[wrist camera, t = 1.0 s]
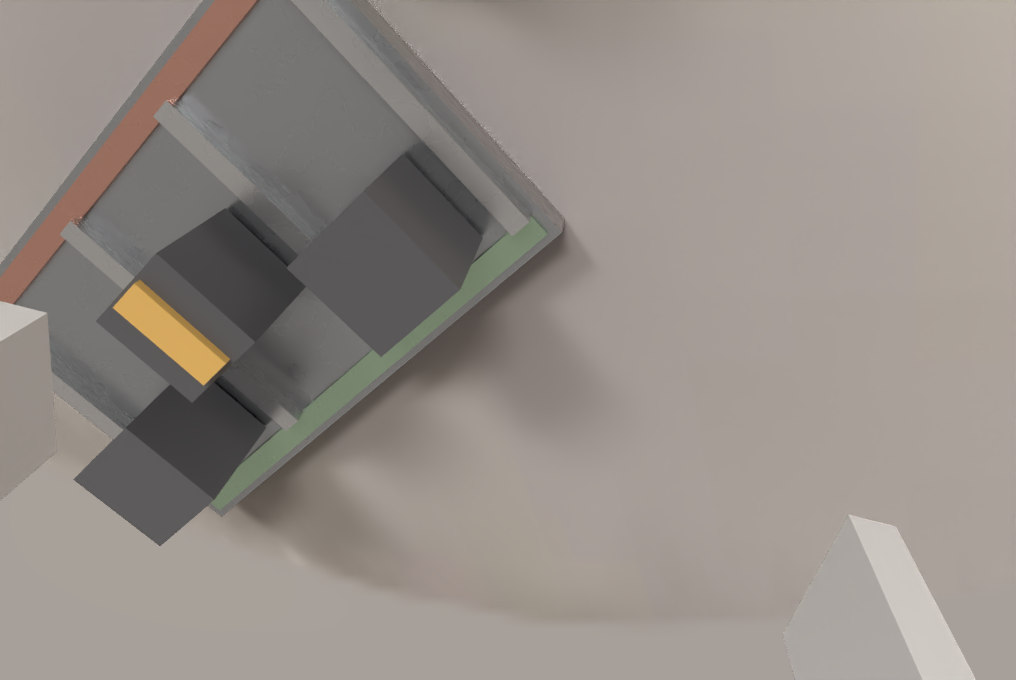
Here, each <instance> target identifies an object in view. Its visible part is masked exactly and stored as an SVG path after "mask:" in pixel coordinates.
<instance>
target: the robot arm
mask: <svg viewBox="0 0 1016 680" xmlns="http://www.w3.org/2000/svg"><path fill="white" fill-rule="evenodd" d="M56 452H57V441H56V427H55V413H54V399H53V385H52V371H51V357H50V343H49V329H48V315H47V313H46V312H42V311H38V310H34V309H30V308H26V307H22V306H18V305H14V304H10V303H6V302H2V301H1V302H0V500H2V499H3V498H4V497H5V496H6V495H8V494H9V493H10V492H11V491H12V490H13V489H14V488H16V487H17V486H18V485H19V484H20V483H21V482H22V481H24V480H25V479H26V478H27V477H28V476H29V475H30V474H32V473H33V472H34V471H35V470H36V469H37V468H39V467H40V466H41V465H42V464H43V463H44V462H45V461H47V460H48V459H49V458H50V457H51V456H52V455H53V454H55V453H56ZM783 638H784V642H785V645H786V649H787V653H788V656H789V660H790V664H791V668H792V672H793V675H794V679H795V680H976V679H975V677H974V675H973V673H972V671H971V669H970V667H969V666H968V664H967V662H966V660H965V658H964V656H963V654H962V652H961V650H960V648H959V646H958V644H957V642H956V641H955V639H954V637H953V635H952V633H951V631H950V629H949V627H948V625H947V623H946V621H945V620H944V618H943V616H942V614H941V612H940V610H939V608H938V606H937V604H936V602H935V600H934V598H933V597H932V595H931V593H930V591H929V589H928V587H927V585H926V583H925V581H924V579H923V577H922V576H921V574H920V572H919V570H918V568H917V566H916V564H915V562H914V560H913V558H912V556H911V554H910V553H909V551H908V549H907V547H906V545H905V543H904V541H903V539H902V537H901V535H900V533H899V532H898V530H897V528H896V526H893V525H889V524H885V523H881V522H877V521H873V520H869V519H865V518H861V517H857V516H853V515H848V516H847V518H846V520H845V522H844V524H843V526H842V527H841V529H840V531H839V533H838V535H837V536H836V538H835V540H834V542H833V544H832V546H831V547H830V549H829V551H828V553H827V555H826V557H825V558H824V560H823V562H822V564H821V566H820V567H819V569H818V571H817V573H816V575H815V577H814V578H813V580H812V582H811V584H810V586H809V588H808V589H807V591H806V593H805V595H804V597H803V598H802V600H801V602H800V604H799V606H798V608H797V609H796V611H795V613H794V615H793V617H792V619H791V620H790V622H789V624H788V626H787V628H786V629H785V631H784V633H783Z"/></svg>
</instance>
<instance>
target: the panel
mask: <svg viewBox="0 0 1016 680" xmlns="http://www.w3.org/2000/svg"><path fill="white" fill-rule="evenodd" d="M402 154H404V155H405V156H406V157H407V158H408V159H409V160H410V161H411V162H412V164H413V165H414V166H415V167H416V168H417V169H418V170H419V171H420V172H421V173H422V174H423V175H424V176H425V177H426V178H427V179H428V180H429V181H430V182H431V183H432V185H433V186H434V187H435V188H436V189H437V190H438V191H439V192H440V193H441V194H442V195H443V196H444V197H445V198H446V199H447V200H448V201H449V202H450V203H451V204H452V206H453V207H454V208H455V209H456V210H457V211H458V212H459V213H460V214H461V215H462V216H463V217H464V218H465V219H466V220H467V221H468V222H469V223H470V224H471V225H472V227H473V228H474V229H475V230H476V231H477V232H478V233H479V234H480V235H481V236H482V237H483V239H482V241H481V243H480V246H479V248H478V250H477V253H476V255H475V257H474V259H473V262H472V264H471V266H470V269H469V271H468V273H467V276H466V278H465V280H464V282H463V285H462V287H461V289H460V290H459V291H458V292H457V293H456V294H455V295H453V296H452V297H451V298H450V299H449V300H448V301H446V302H445V303H444V304H443V305H442V306H441V307H439V308H438V309H437V310H436V311H435V312H434V313H432V314H431V315H430V316H429V317H428V318H427V319H425V320H424V321H423V322H422V323H421V324H420V325H418V326H417V327H416V328H415V329H414V330H412V331H411V332H410V333H409V334H408V335H407V336H405V337H404V338H403V339H402V340H401V341H400V342H398V343H397V344H396V345H395V346H394V347H393V348H391V349H390V350H389V351H388V352H387V353H386V354H384V355H383V356H382V357H380V356H379V355H378V354H377V353H376V352H375V351H374V350H373V349H372V348H371V347H370V346H369V345H367V344H366V343H365V342H364V341H363V340H362V339H361V338H360V337H359V336H358V335H357V334H356V333H355V332H354V331H353V330H352V329H351V328H349V327H348V326H347V325H346V324H345V323H344V322H343V321H342V320H341V319H340V318H339V317H338V316H337V315H336V314H335V313H334V312H332V311H331V310H330V309H329V308H328V307H327V306H326V305H325V304H324V303H323V302H322V301H321V300H320V299H319V298H318V297H317V296H315V295H314V294H313V293H312V292H311V291H310V290H309V289H308V288H307V287H305V288H304V290H303V291H302V292H301V293H300V294H299V295H298V296H297V297H296V298H295V299H294V301H293V302H292V303H291V304H290V305H289V306H288V307H287V308H286V309H285V310H284V311H283V313H282V314H281V315H280V316H279V317H278V318H277V319H276V320H275V321H274V322H273V323H272V325H271V326H270V327H269V328H268V329H267V330H266V331H265V332H264V333H263V334H262V335H261V337H260V338H259V339H258V340H257V341H256V342H255V343H254V344H253V345H252V346H251V347H250V348H249V349H248V350H247V351H246V352H245V353H244V354H243V355H241V356H240V357H239V358H238V359H237V360H236V361H235V362H234V363H233V364H232V365H231V366H230V367H229V368H228V369H227V370H226V371H225V372H224V373H223V374H222V375H221V376H220V377H219V378H217V379H216V380H215V381H214V383H215V384H217V385H218V386H219V387H220V388H221V389H222V390H223V391H225V392H226V393H227V394H228V395H229V396H230V397H232V398H233V399H234V400H235V401H236V402H237V403H239V404H240V405H241V406H242V407H243V408H244V409H246V410H247V411H248V412H249V413H250V414H251V415H253V416H254V417H255V418H256V419H257V420H258V421H259V422H261V423H262V424H263V425H264V426H265V427H266V429H265V430H264V432H263V433H262V435H261V436H260V437H259V439H258V440H257V441H256V443H255V444H254V446H253V447H252V448H251V450H250V451H249V453H248V454H247V455H246V457H245V458H244V459H243V461H242V462H241V464H240V465H239V466H238V468H237V469H236V471H235V472H234V473H233V475H232V476H231V477H230V479H229V480H228V482H227V483H226V484H225V486H224V487H223V489H222V490H221V491H220V493H219V494H218V495H217V497H216V498H215V500H214V501H212V502H211V503H210V504H209V505H208V506H209V507H210V508H211V509H213V510H214V511H215V512H216V513H218V514H219V515H220V516H221V517H222V516H223V515H224V514H225V513H227V512H228V511H229V510H230V509H231V508H233V507H234V506H235V505H236V504H237V503H239V502H240V501H241V500H242V499H243V498H245V497H246V496H247V495H248V494H249V493H251V492H252V491H253V490H254V489H255V488H257V487H258V486H259V485H260V484H261V483H263V482H264V481H265V480H266V479H267V478H269V477H270V476H271V475H272V474H273V473H275V472H276V471H277V470H278V469H279V468H281V467H282V466H283V465H284V464H285V463H287V462H288V461H289V460H290V459H291V458H293V457H294V456H295V455H296V454H297V453H299V452H300V451H301V450H302V449H303V448H305V447H306V446H307V445H308V444H309V443H311V442H312V441H313V440H314V439H315V438H317V437H318V436H319V435H320V434H321V433H323V432H324V431H325V430H326V429H327V428H329V427H330V426H331V425H332V424H333V423H335V422H336V421H337V420H338V419H339V418H341V417H342V416H343V415H344V414H345V413H346V412H348V411H349V410H350V409H351V408H352V407H354V406H355V405H356V404H357V403H358V402H360V401H361V400H362V399H363V398H364V397H366V396H367V395H368V394H369V393H370V392H372V391H373V390H374V389H375V388H376V387H378V386H379V385H380V384H381V383H382V382H384V381H385V380H386V379H387V378H388V377H390V376H391V375H392V374H393V373H394V372H396V371H397V370H398V369H399V368H400V367H402V366H403V365H404V364H405V363H406V362H408V361H409V360H410V359H411V358H412V357H414V356H415V355H416V354H417V353H418V352H420V351H421V350H422V349H423V348H424V347H426V346H427V345H428V344H429V343H430V342H432V341H433V340H434V339H435V338H436V337H438V336H439V335H440V334H441V333H442V332H444V331H445V330H446V329H447V328H448V327H450V326H451V325H452V324H453V323H454V322H456V321H457V320H458V319H459V318H460V317H462V316H463V315H464V314H465V313H466V312H468V311H469V310H470V309H471V308H472V307H474V306H475V305H476V304H477V303H478V302H480V301H481V300H482V299H483V298H484V297H486V296H487V295H488V294H489V293H490V292H492V291H493V290H494V289H495V288H496V287H498V286H499V285H500V284H501V283H502V282H503V281H505V280H506V279H507V278H508V277H509V276H511V275H512V274H513V273H514V272H515V271H517V270H518V269H519V268H520V267H521V266H523V265H524V264H525V263H526V262H527V261H529V260H530V259H531V258H532V257H533V256H535V255H536V254H537V253H538V252H539V251H541V250H542V249H543V248H544V247H545V246H547V245H548V244H549V243H550V242H551V241H553V240H554V239H555V238H556V237H557V236H559V235H560V234H561V233H562V231H563V225H564V218H563V217H562V216H561V214H560V213H559V212H558V211H557V210H556V209H555V208H554V207H553V206H552V205H551V203H550V202H549V201H548V200H547V199H546V198H545V197H544V196H543V195H542V194H541V192H540V191H539V190H538V189H537V188H536V187H535V186H534V185H533V184H532V182H531V181H530V180H529V179H528V178H527V177H526V176H525V175H524V174H523V173H522V171H521V170H520V169H519V168H518V167H517V166H516V165H515V164H514V163H513V161H512V160H511V159H510V158H509V157H508V156H507V155H506V154H505V153H504V152H503V150H502V149H501V148H500V147H499V146H498V145H497V144H496V143H495V142H494V140H493V139H492V138H491V137H490V136H489V135H488V134H487V133H486V132H485V131H484V129H483V128H482V127H481V126H480V125H479V124H478V123H477V122H476V121H475V119H474V118H473V117H472V116H471V115H470V114H469V113H468V112H467V111H466V110H465V108H464V107H463V106H462V105H461V104H460V103H459V102H458V101H457V100H456V99H455V97H454V96H453V95H452V94H451V93H450V92H449V91H448V90H447V89H446V87H445V86H444V85H443V84H442V83H441V82H440V81H439V80H438V79H437V78H436V76H435V75H434V74H433V73H432V72H431V71H430V70H429V69H428V68H427V66H426V65H425V64H424V63H423V62H422V61H421V60H420V59H419V58H418V57H417V55H416V54H415V53H414V52H413V51H412V50H411V49H410V48H409V47H408V45H407V44H406V43H405V42H404V41H403V40H402V39H401V38H400V37H399V36H398V34H397V33H396V32H395V31H394V30H393V29H392V28H391V27H390V26H389V24H388V23H387V22H386V21H385V20H384V19H383V18H382V17H381V16H380V15H379V13H378V12H377V11H376V10H375V9H374V8H373V7H372V6H371V5H370V3H369V2H368V1H367V0H203V1H202V3H201V4H200V5H199V7H198V8H197V9H196V11H195V12H194V13H193V14H192V16H191V17H190V18H189V20H188V21H187V22H186V24H185V25H184V26H183V27H182V29H181V30H180V31H179V33H178V34H177V35H176V37H175V38H174V39H173V41H172V42H171V43H170V44H169V46H168V47H167V48H166V50H165V51H164V52H163V54H162V55H161V56H160V57H159V59H158V60H157V61H156V63H155V64H154V65H153V67H152V68H151V69H150V70H149V72H148V73H147V74H146V76H145V77H144V78H143V80H142V81H141V82H140V84H139V85H138V86H137V87H136V89H135V90H134V91H133V93H132V94H131V95H130V97H129V98H128V99H127V100H126V102H125V103H124V104H123V106H122V107H121V108H120V110H119V111H118V112H117V114H116V115H115V116H114V117H113V119H112V120H111V121H110V123H109V124H108V125H107V127H106V128H105V129H104V130H103V132H102V133H101V134H100V136H99V137H98V138H97V140H96V141H95V142H94V143H93V145H92V146H91V147H90V149H89V150H88V151H87V153H86V154H85V155H84V157H83V158H82V159H81V160H80V162H79V163H78V164H77V166H76V167H75V168H74V170H73V171H72V172H71V173H70V175H69V176H68V177H67V179H66V180H65V181H64V183H63V184H62V185H61V187H60V188H59V189H58V190H57V192H56V193H55V194H54V196H53V197H52V198H51V200H50V201H49V202H48V203H47V205H46V206H45V207H44V209H43V210H42V211H41V213H40V214H39V215H38V217H37V218H36V219H35V220H34V222H33V223H32V224H31V226H30V227H29V228H28V230H27V231H26V232H25V233H24V235H23V236H22V237H21V239H20V240H19V241H18V243H17V244H16V245H15V246H14V248H13V249H12V250H11V252H10V253H9V254H8V256H7V257H6V258H5V260H4V261H3V262H2V263H1V265H0V302H1V301H2V302H6V303H10V304H14V305H18V306H22V307H26V308H30V309H34V310H38V311H42V312H46V313H47V315H48V329H49V343H50V357H51V371H52V385H53V392H54V393H56V394H57V395H58V396H59V397H61V398H62V399H63V400H64V401H66V402H67V403H68V404H69V405H71V406H72V407H73V408H74V409H76V410H77V411H78V412H79V413H81V414H82V415H83V416H84V417H86V418H87V419H88V420H89V421H91V422H92V423H93V424H94V425H96V426H97V427H98V428H99V429H101V430H102V431H103V432H104V433H106V434H107V435H108V436H109V437H111V438H112V439H113V440H114V439H115V438H116V437H117V436H118V435H119V434H120V433H121V432H122V431H123V430H124V429H125V428H126V427H127V426H128V425H129V424H130V423H131V422H132V421H133V420H134V419H135V418H136V417H137V416H138V415H139V414H140V413H141V412H142V411H143V410H144V409H145V408H146V407H147V406H148V405H149V404H150V403H151V402H152V401H153V400H154V399H156V398H157V397H158V396H159V395H160V394H161V393H162V392H163V391H164V390H165V389H166V388H167V387H168V386H169V385H170V384H169V383H168V382H167V381H166V380H164V379H163V378H162V377H161V376H160V375H159V374H157V373H156V372H155V371H154V370H153V369H151V368H150V367H149V366H148V365H147V364H146V363H144V362H143V361H142V360H141V359H140V358H138V357H137V356H136V355H135V354H134V353H133V352H131V351H130V350H129V349H128V348H127V347H125V346H124V345H123V344H122V343H121V342H119V341H118V340H117V339H116V338H115V337H114V336H112V335H111V334H110V333H109V332H108V331H106V330H105V329H104V328H103V327H102V326H101V325H99V324H98V323H97V322H96V320H97V319H98V318H99V317H100V316H101V315H102V313H103V312H104V311H105V310H106V309H107V308H108V307H109V306H110V304H111V303H112V302H113V301H114V300H115V299H116V298H117V297H118V295H119V294H120V293H121V292H122V291H123V290H124V289H125V288H126V286H127V285H128V284H129V283H130V282H131V281H132V280H133V279H134V277H135V276H136V275H137V274H138V273H139V272H140V271H141V269H142V268H143V267H144V266H145V265H146V264H147V263H148V262H149V260H150V259H151V258H152V257H153V256H154V255H155V254H156V253H157V252H159V251H160V250H162V249H163V248H165V247H166V246H168V245H169V244H171V243H172V242H174V241H175V240H177V239H179V238H180V237H182V236H183V235H185V234H186V233H188V232H189V231H191V230H192V229H194V228H195V227H197V226H198V225H200V224H202V223H203V222H205V221H206V220H208V219H209V218H211V217H212V216H214V215H215V214H217V213H218V212H220V211H222V210H223V209H225V208H226V209H227V210H228V211H229V212H230V213H231V214H232V215H233V216H234V217H235V218H236V219H238V220H239V221H240V222H241V223H242V224H243V225H244V226H245V227H246V228H247V229H248V230H249V231H250V232H251V233H252V234H253V235H255V236H256V237H257V238H258V239H259V240H260V241H261V242H262V243H263V244H264V245H265V246H266V247H267V248H268V249H269V250H270V251H271V252H273V253H274V254H275V255H276V256H277V257H278V258H279V259H280V260H281V261H282V262H283V263H284V264H285V265H286V266H287V267H288V266H289V265H290V264H291V263H292V262H293V261H294V260H295V259H296V258H297V257H298V256H299V255H300V254H301V253H302V252H303V251H304V250H305V249H306V248H307V247H308V246H309V245H310V244H311V243H312V242H313V241H314V240H315V239H316V238H317V237H318V236H319V235H320V234H321V233H322V232H323V231H324V230H325V229H326V228H327V227H328V226H329V225H330V224H331V223H332V222H333V221H334V220H335V219H336V218H337V217H338V216H339V215H340V214H341V213H342V212H343V211H344V210H345V209H346V208H347V207H348V206H349V205H350V204H351V203H352V202H353V201H354V200H355V199H356V198H357V197H358V196H359V195H360V194H361V193H362V192H363V191H364V190H365V189H366V188H367V187H368V186H369V185H370V184H371V183H372V182H373V181H375V180H376V179H377V178H378V177H379V176H380V175H381V174H382V173H383V172H384V171H385V170H386V169H387V168H388V167H389V166H390V165H391V164H392V163H393V162H394V161H395V160H397V159H398V158H399V157H400V156H401V155H402Z"/></svg>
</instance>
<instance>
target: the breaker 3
mask: <svg viewBox="0 0 1016 680" xmlns="http://www.w3.org/2000/svg"><path fill="white" fill-rule="evenodd" d="M482 239H483V237H482V236H481V235H480V234H479V233H478V232H477V231H476V230H475V229H474V228H473V227H472V225H471V224H470V223H469V222H468V221H467V220H466V219H465V218H464V217H463V216H462V215H461V214H460V213H459V212H458V211H457V210H456V209H455V208H454V207H453V206H452V204H451V203H450V202H449V201H448V200H447V199H446V198H445V197H444V196H443V195H442V194H441V193H440V192H439V191H438V190H437V189H436V188H435V187H434V186H433V185H432V183H431V182H430V181H429V180H428V179H427V178H426V177H425V176H424V175H423V174H422V173H421V172H420V171H419V170H418V169H417V168H416V167H415V166H414V165H413V164H412V162H411V161H410V160H409V159H408V158H407V157H406V156H405V155H404V154H402V155H401V156H400V157H399V158H398V159H397V160H395V161H394V162H393V163H392V164H391V165H390V166H389V167H388V168H387V169H386V170H385V171H384V172H383V173H382V174H381V175H380V176H379V177H378V178H377V179H376V180H375V181H373V182H372V183H371V184H370V185H369V186H368V187H367V188H366V189H365V190H364V191H363V192H362V193H361V194H360V195H359V196H358V197H357V198H356V199H355V200H354V201H353V202H352V203H351V204H350V205H349V206H348V207H347V208H346V209H345V210H344V211H343V212H342V213H341V214H340V215H339V216H338V217H337V218H336V219H335V220H334V221H333V222H332V223H331V224H330V225H329V226H328V227H327V228H326V229H325V230H324V231H323V232H322V233H321V234H320V235H319V236H318V237H317V238H316V239H315V240H314V241H313V242H312V243H311V244H310V245H309V246H308V247H307V248H306V249H305V250H304V251H303V252H302V253H301V254H300V255H299V256H298V257H297V258H296V259H295V260H294V261H293V262H292V263H291V264H290V265H289V266H288V267H287V269H288V270H289V271H290V272H291V273H292V274H293V275H294V276H295V277H296V278H297V279H298V280H300V281H301V282H302V283H303V284H304V285H305V286H306V287H307V288H308V289H309V290H310V291H311V292H312V293H313V294H314V295H315V296H317V297H318V298H319V299H320V300H321V301H322V302H323V303H324V304H325V305H326V306H327V307H328V308H329V309H330V310H331V311H332V312H334V313H335V314H336V315H337V316H338V317H339V318H340V319H341V320H342V321H343V322H344V323H345V324H346V325H347V326H348V327H349V328H351V329H352V330H353V331H354V332H355V333H356V334H357V335H358V336H359V337H360V338H361V339H362V340H363V341H364V342H365V343H366V344H367V345H369V346H370V347H371V348H372V349H373V350H374V351H375V352H376V353H377V354H378V355H379V356H380V357H382V356H383V355H384V354H386V353H387V352H388V351H389V350H390V349H391V348H393V347H394V346H395V345H396V344H397V343H398V342H400V341H401V340H402V339H403V338H404V337H405V336H407V335H408V334H409V333H410V332H411V331H412V330H414V329H415V328H416V327H417V326H418V325H420V324H421V323H422V322H423V321H424V320H425V319H427V318H428V317H429V316H430V315H431V314H432V313H434V312H435V311H436V310H437V309H438V308H439V307H441V306H442V305H443V304H444V303H445V302H446V301H448V300H449V299H450V298H451V297H452V296H453V295H455V294H456V293H457V292H458V291H459V290H460V289H461V287H462V285H463V282H464V280H465V278H466V276H467V273H468V271H469V269H470V266H471V264H472V262H473V259H474V257H475V255H476V253H477V250H478V248H479V246H480V243H481V241H482Z"/></svg>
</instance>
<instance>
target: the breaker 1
mask: <svg viewBox="0 0 1016 680" xmlns="http://www.w3.org/2000/svg"><path fill="white" fill-rule="evenodd" d="M305 287H306V286H305V285H304V284H303V283H302V282H301V281H300V280H298V279H297V278H296V277H295V276H294V275H293V274H292V273H291V272H290V271H289V270H288V269H287V266H286V265H285V264H284V263H283V262H282V261H281V260H280V259H279V258H278V257H277V256H276V255H275V254H274V253H273V252H271V251H270V250H269V249H268V248H267V247H266V246H265V245H264V244H263V243H262V242H261V241H260V240H259V239H258V238H257V237H256V236H255V235H253V234H252V233H251V232H250V231H249V230H248V229H247V228H246V227H245V226H244V225H243V224H242V223H241V222H240V221H239V220H238V219H236V218H235V217H234V216H233V215H232V214H231V213H230V212H229V211H228V210H227V209H226V208H225V209H223V210H222V211H220V212H218V213H217V214H215V215H214V216H212V217H211V218H209V219H208V220H206V221H205V222H203V223H202V224H200V225H198V226H197V227H195V228H194V229H192V230H191V231H189V232H188V233H186V234H185V235H183V236H182V237H180V238H179V239H177V240H175V241H174V242H172V243H171V244H169V245H168V246H166V247H165V248H163V249H162V250H160V251H159V252H157V253H156V254H155V255H154V256H153V257H152V258H151V259H150V260H149V262H148V263H147V264H146V265H145V266H144V267H143V268H142V269H141V271H140V272H139V273H138V274H137V275H136V276H135V277H134V279H133V280H132V281H131V282H130V283H129V284H128V285H127V286H126V288H125V289H124V290H123V291H122V292H121V293H120V294H119V295H118V297H117V298H116V299H115V300H114V301H113V302H112V303H111V304H110V306H109V307H108V308H107V309H106V310H105V311H104V312H103V313H102V315H101V316H100V317H99V318H98V319H97V320H96V322H97V323H98V324H99V325H101V326H102V327H103V328H104V329H105V330H106V331H108V332H109V333H110V334H111V335H112V336H114V337H115V338H116V339H117V340H118V341H119V342H121V343H122V344H123V345H124V346H125V347H127V348H128V349H129V350H130V351H131V352H133V353H134V354H135V355H136V356H137V357H138V358H140V359H141V360H142V361H143V362H144V363H146V364H147V365H148V366H149V367H150V368H151V369H153V370H154V371H155V372H156V373H157V374H159V375H160V376H161V377H162V378H163V379H164V380H166V381H167V382H168V383H169V384H170V385H172V386H173V387H174V388H175V389H176V390H178V391H179V392H180V393H181V394H182V395H183V396H185V397H186V398H187V399H188V400H189V401H191V402H193V401H195V400H196V399H197V398H198V397H199V396H200V395H201V394H202V393H203V392H204V391H205V390H206V389H207V388H208V387H209V386H210V385H211V384H212V383H213V382H214V381H215V380H216V379H217V378H219V377H220V376H221V375H222V374H223V373H224V372H225V371H226V370H227V369H228V368H229V367H230V366H231V365H232V364H233V363H234V362H235V361H236V360H237V359H238V358H239V357H240V356H241V355H243V354H244V353H245V352H246V351H247V350H248V349H249V348H250V347H251V346H252V345H253V344H254V343H255V342H256V341H257V340H258V339H259V338H260V337H261V335H262V334H263V333H264V332H265V331H266V330H267V329H268V328H269V327H270V326H271V325H272V323H273V322H274V321H275V320H276V319H277V318H278V317H279V316H280V315H281V314H282V313H283V311H284V310H285V309H286V308H287V307H288V306H289V305H290V304H291V303H292V302H293V301H294V299H295V298H296V297H297V296H298V295H299V294H300V293H301V292H302V291H303V290H304V288H305Z"/></svg>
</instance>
